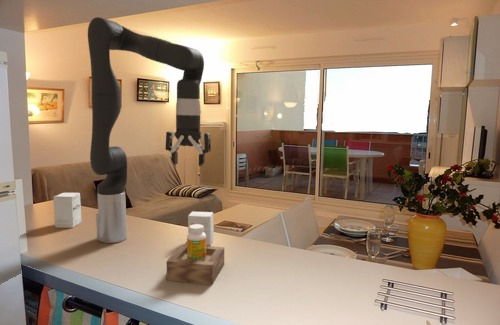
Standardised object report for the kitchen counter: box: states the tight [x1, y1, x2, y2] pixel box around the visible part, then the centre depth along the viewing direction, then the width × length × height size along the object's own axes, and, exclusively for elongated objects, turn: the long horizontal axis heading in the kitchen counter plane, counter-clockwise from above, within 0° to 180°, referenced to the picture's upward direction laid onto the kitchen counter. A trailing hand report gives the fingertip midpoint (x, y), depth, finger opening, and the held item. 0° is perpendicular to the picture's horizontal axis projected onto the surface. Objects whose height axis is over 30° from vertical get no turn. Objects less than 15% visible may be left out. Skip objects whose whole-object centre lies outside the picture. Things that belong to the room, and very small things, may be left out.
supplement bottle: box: [186, 224, 207, 261], centre depth 104 cm, size 5×5×10 cm
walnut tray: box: [166, 243, 225, 285], centre depth 104 cm, size 13×13×6 cm
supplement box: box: [52, 192, 82, 229], centre depth 145 cm, size 7×7×13 cm
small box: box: [187, 211, 215, 246], centre depth 128 cm, size 8×6×10 cm
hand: (188, 164), depth 116 cm, fingers open, 8 cm apart
